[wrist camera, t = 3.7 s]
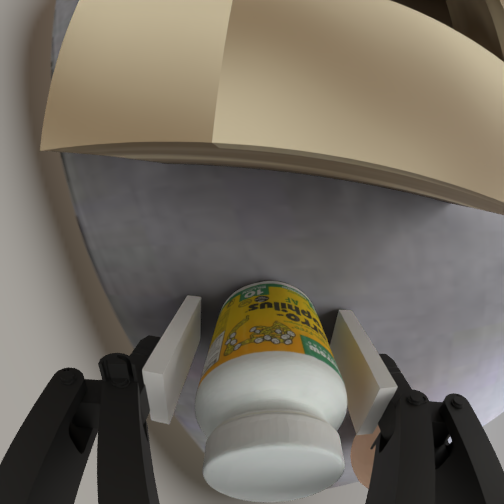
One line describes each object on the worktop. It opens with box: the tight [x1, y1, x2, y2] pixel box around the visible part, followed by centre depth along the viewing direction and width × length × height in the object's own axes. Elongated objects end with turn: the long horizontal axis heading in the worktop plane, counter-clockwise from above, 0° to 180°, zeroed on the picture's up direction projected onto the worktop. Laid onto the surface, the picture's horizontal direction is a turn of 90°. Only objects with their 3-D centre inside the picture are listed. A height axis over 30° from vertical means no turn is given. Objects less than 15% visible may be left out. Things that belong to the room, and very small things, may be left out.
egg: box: [350, 425, 380, 489], centre depth 13 cm, size 7×7×8 cm
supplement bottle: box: [195, 281, 347, 502], centre depth 10 cm, size 5×5×10 cm
